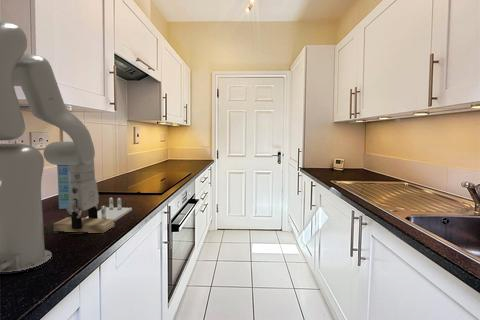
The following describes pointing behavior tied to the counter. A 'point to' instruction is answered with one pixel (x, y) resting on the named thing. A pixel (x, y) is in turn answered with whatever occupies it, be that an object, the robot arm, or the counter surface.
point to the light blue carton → (63, 185)
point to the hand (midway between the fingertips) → (85, 223)
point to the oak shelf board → (85, 225)
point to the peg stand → (112, 211)
